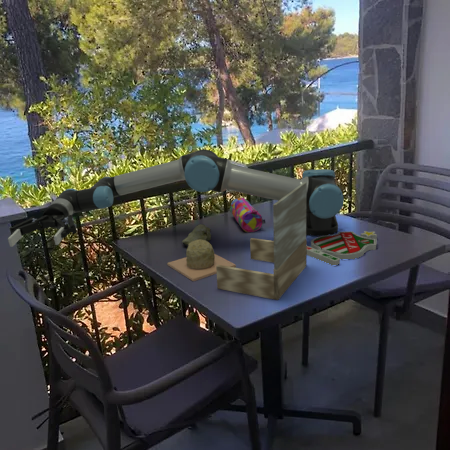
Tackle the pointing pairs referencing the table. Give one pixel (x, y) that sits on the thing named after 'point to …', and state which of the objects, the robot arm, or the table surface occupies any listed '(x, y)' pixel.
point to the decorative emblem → (341, 246)
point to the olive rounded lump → (200, 254)
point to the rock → (198, 234)
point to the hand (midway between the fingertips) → (32, 241)
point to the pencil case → (246, 215)
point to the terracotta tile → (198, 273)
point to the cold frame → (274, 252)
